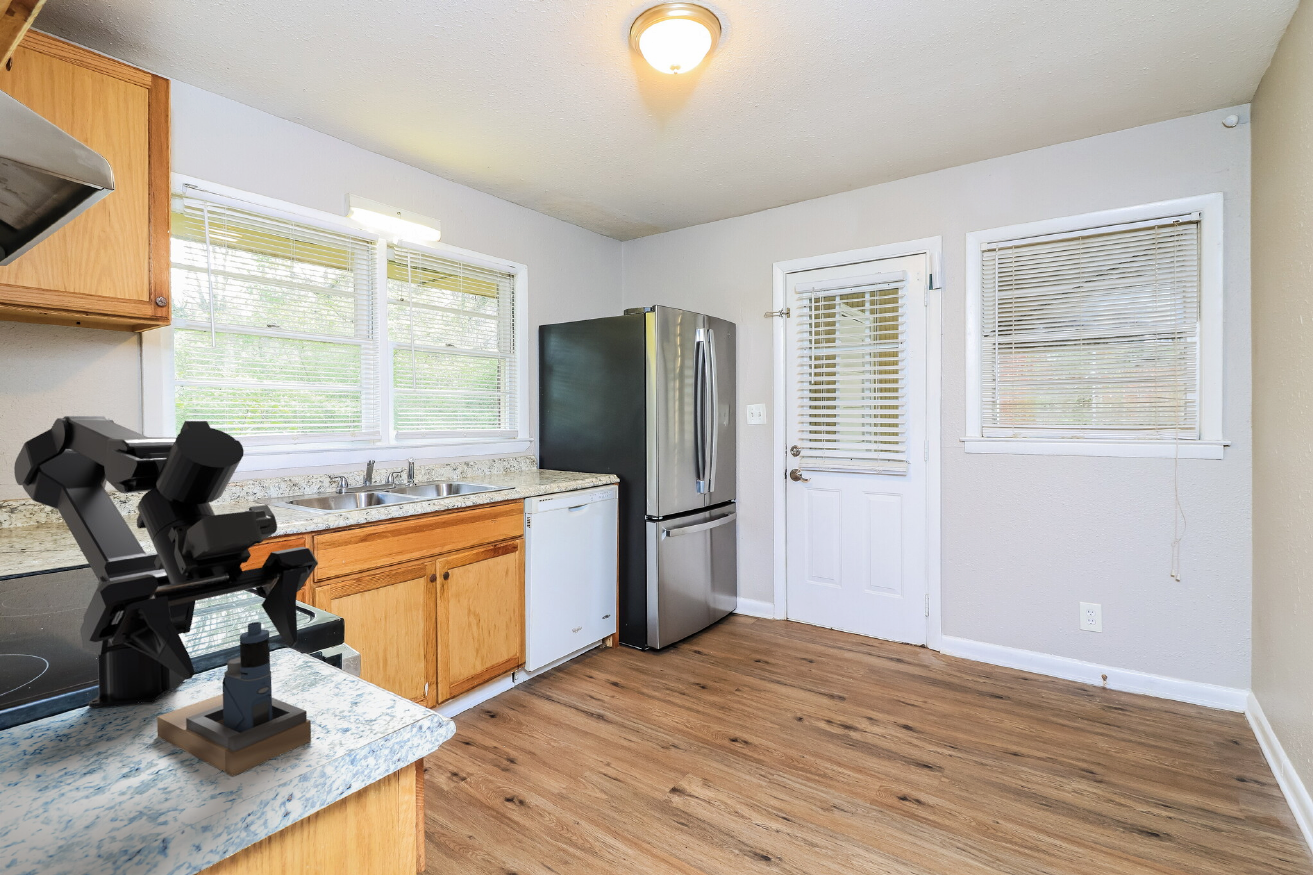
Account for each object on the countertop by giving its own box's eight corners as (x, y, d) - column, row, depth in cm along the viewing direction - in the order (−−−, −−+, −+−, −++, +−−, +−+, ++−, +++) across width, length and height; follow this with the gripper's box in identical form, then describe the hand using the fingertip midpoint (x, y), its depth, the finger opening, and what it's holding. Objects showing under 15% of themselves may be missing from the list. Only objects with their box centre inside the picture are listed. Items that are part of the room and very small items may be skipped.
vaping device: (251, 759, 57) (247, 629, 57) (219, 746, 60) (215, 621, 59) (279, 746, 59) (276, 621, 59) (247, 734, 62) (244, 614, 62)
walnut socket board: (157, 736, 62) (156, 706, 61) (234, 707, 68) (233, 680, 68) (232, 776, 55) (232, 742, 54) (311, 740, 61) (310, 710, 61)
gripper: (93, 491, 54) (156, 641, 48) (307, 474, 70) (370, 586, 65) (60, 570, 58) (114, 716, 53) (268, 537, 74) (325, 646, 69)
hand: (245, 659), depth 60 cm, fingers open, 9 cm apart
